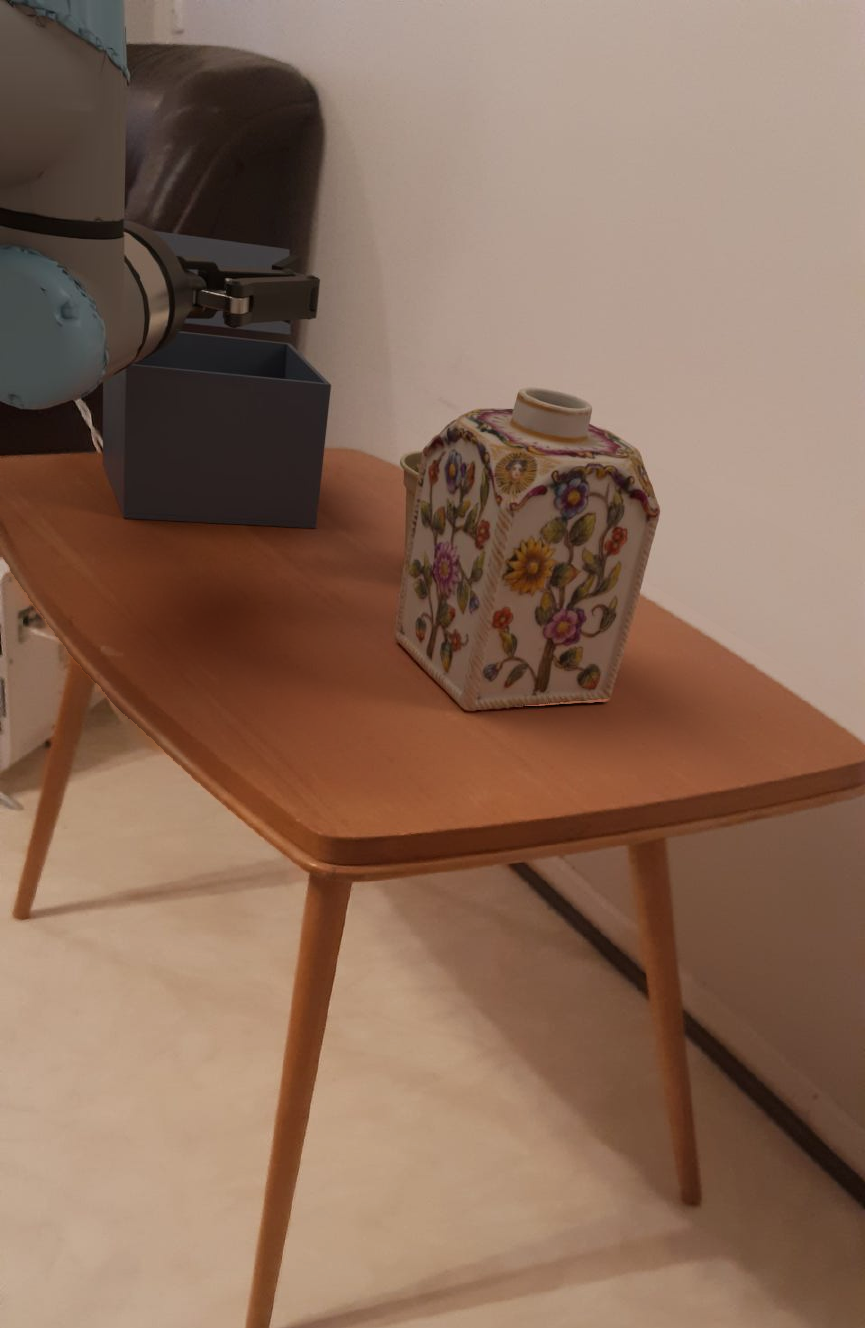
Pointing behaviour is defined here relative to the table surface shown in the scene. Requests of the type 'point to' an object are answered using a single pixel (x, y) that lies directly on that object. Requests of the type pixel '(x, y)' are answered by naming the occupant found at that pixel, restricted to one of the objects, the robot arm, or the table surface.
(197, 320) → the flap
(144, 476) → the carton
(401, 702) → the table surface
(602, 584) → the decorative jar
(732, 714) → the table surface
